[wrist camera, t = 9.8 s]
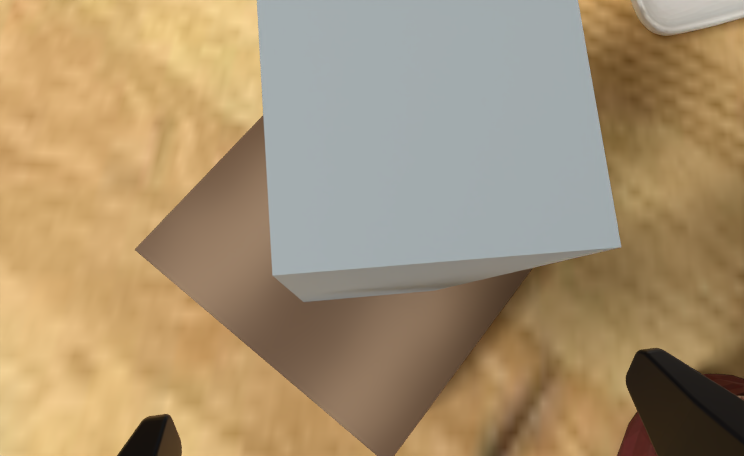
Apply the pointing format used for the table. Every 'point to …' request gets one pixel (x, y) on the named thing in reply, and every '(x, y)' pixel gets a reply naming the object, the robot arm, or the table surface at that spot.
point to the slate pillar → (428, 143)
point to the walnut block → (319, 308)
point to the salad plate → (686, 14)
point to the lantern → (636, 443)
